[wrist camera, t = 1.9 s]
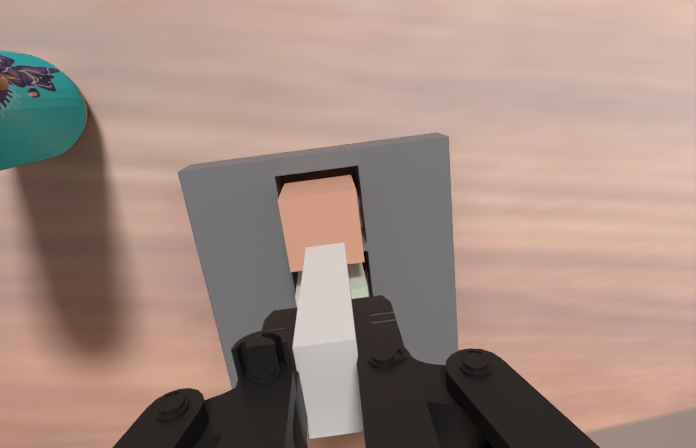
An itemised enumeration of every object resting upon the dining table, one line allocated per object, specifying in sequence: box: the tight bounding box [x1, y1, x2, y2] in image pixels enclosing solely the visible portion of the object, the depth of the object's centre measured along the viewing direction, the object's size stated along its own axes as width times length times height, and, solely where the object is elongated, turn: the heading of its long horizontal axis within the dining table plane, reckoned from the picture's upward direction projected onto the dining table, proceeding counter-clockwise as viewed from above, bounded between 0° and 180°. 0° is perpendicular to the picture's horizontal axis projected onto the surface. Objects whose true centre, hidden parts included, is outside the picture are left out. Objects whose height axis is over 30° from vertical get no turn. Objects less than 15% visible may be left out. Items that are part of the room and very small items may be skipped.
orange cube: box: [278, 175, 365, 272], centre depth 23 cm, size 4×4×4 cm
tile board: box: [178, 133, 458, 389], centre depth 28 cm, size 16×18×2 cm
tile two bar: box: [295, 262, 370, 307], centre depth 25 cm, size 4×4×4 cm
